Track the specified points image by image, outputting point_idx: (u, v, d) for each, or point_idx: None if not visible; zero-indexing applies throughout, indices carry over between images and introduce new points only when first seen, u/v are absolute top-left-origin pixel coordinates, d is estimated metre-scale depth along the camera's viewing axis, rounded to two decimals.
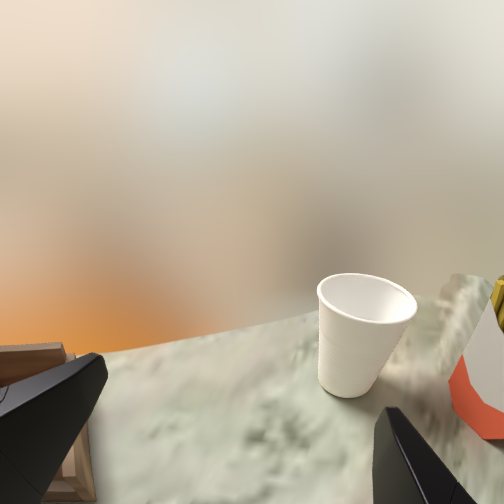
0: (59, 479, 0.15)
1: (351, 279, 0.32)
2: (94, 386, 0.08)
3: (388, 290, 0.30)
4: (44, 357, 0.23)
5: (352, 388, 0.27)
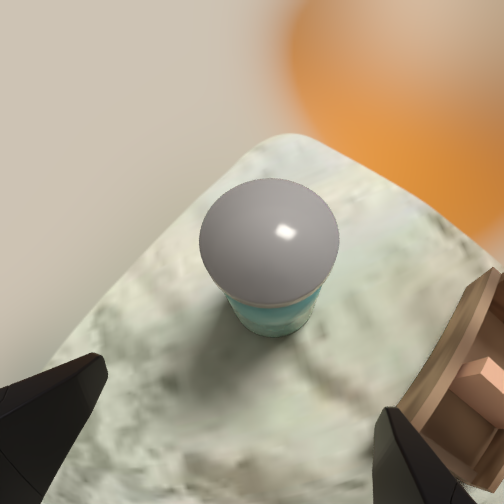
0: (465, 456, 0.15)
1: None
2: (94, 386, 0.08)
3: None
4: None
5: None
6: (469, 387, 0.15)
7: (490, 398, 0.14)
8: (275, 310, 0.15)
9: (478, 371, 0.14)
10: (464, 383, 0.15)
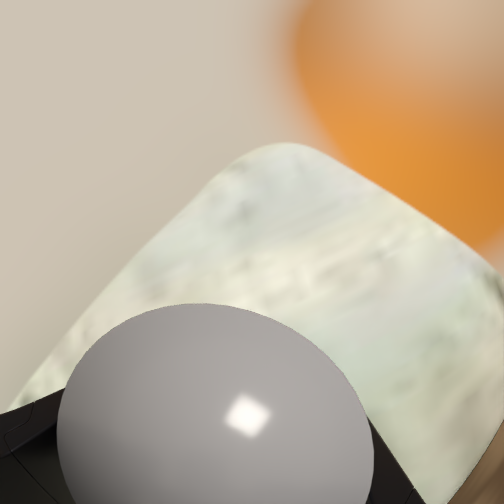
0: None
1: None
2: None
3: None
4: None
5: None
6: None
7: None
8: None
9: None
10: None
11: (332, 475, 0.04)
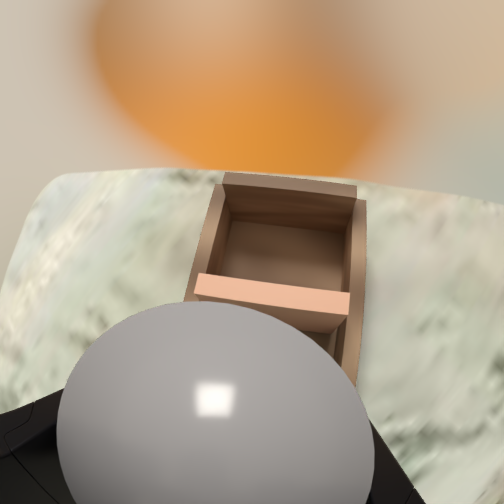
0: None
1: None
2: None
3: None
4: (323, 202, 0.20)
5: None
6: None
7: None
8: None
9: None
10: None
11: (333, 473, 0.04)
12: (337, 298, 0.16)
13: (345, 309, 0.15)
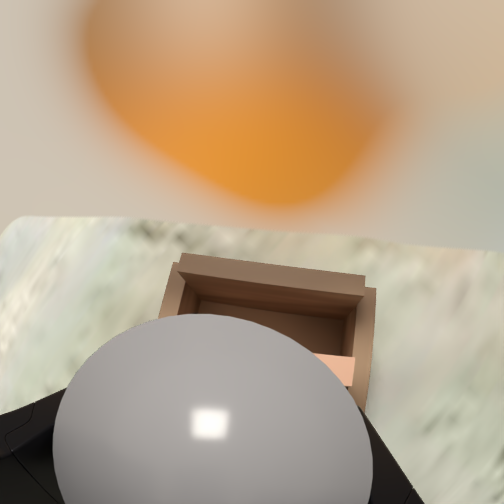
0: None
1: None
2: None
3: None
4: (317, 297, 0.15)
5: None
6: None
7: None
8: None
9: None
10: None
11: (331, 481, 0.04)
12: (338, 365, 0.11)
13: (348, 379, 0.11)
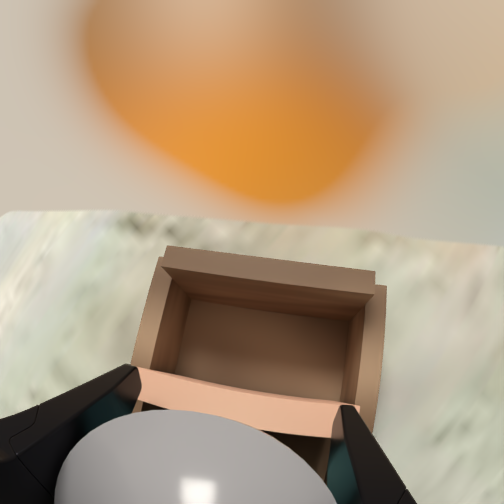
0: None
1: None
2: (129, 399, 0.08)
3: None
4: (321, 295, 0.13)
5: None
6: None
7: None
8: None
9: None
10: None
11: None
12: None
13: None
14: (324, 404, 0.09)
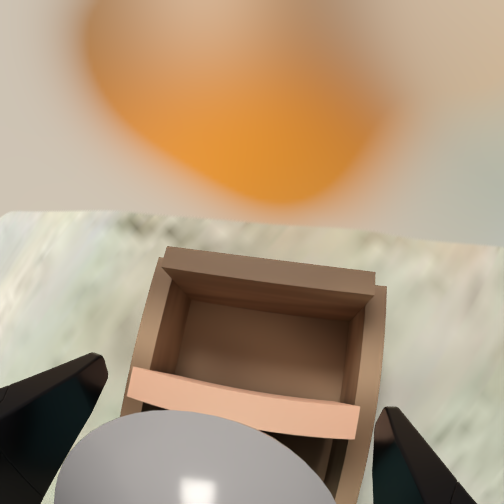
0: None
1: None
2: (94, 386, 0.08)
3: None
4: (321, 296, 0.13)
5: None
6: None
7: None
8: None
9: None
10: None
11: None
12: (340, 416, 0.09)
13: (351, 431, 0.09)
14: (324, 405, 0.09)
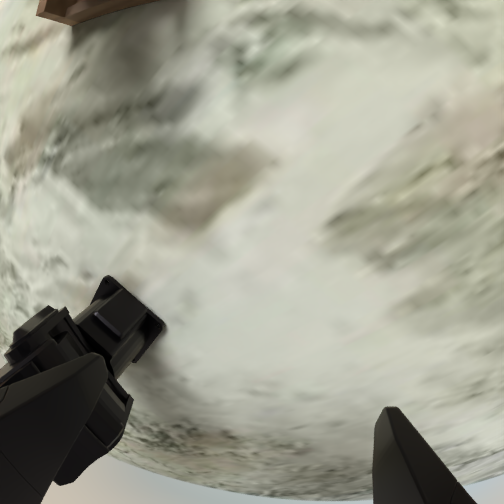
0: None
1: None
2: (94, 386, 0.08)
3: None
4: None
5: None
6: None
7: None
8: None
9: None
10: None
11: None
12: None
13: None
14: None
